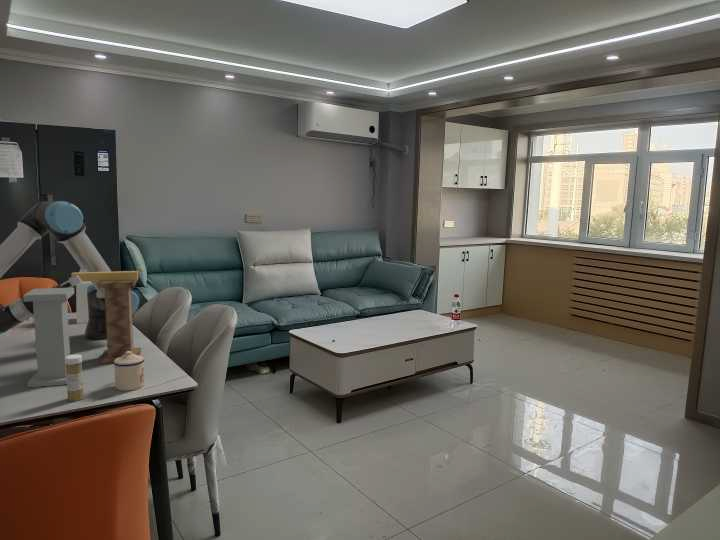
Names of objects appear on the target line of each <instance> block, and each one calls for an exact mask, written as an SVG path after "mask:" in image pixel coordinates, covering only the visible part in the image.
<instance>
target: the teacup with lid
mask: <svg viewBox="0 0 720 540" xmlns="http://www.w3.org/2000/svg"><path fill="white" fill-rule="evenodd" d="M144 362H145V359H144V357H143V356H141V355H140V356H139V355H135V354H132V352H131V351H127V352H125V355H123V356H121V357H119V358H116V359H115V360H114V363H113V366H114V381H115V383H114V384H115V389H116V390H118V391H122V392H123V391H125V392H128V391H129V392H130V391H134V390H139V389H141V388H143V387H144V386H145V368H144V367H145V366H144Z"/></svg>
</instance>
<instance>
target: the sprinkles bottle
mask: <svg viewBox="0 0 720 540" xmlns="http://www.w3.org/2000/svg"><path fill="white" fill-rule="evenodd" d="M82 363H83V356H82V354H70V355H69V356H66V357H65V364H66V378H67V380H66V382H67V385H66V389H67V398H66V399H67V400H68V401H70V402H77V401H81V400H83V399H84V398H85V395H84V376H83V374H84V373H83V364H82Z"/></svg>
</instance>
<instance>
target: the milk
mask: <svg viewBox="0 0 720 540" xmlns="http://www.w3.org/2000/svg"><path fill="white" fill-rule="evenodd" d="M82 271H83V270H82V269H81V268H80V269H79V272H82ZM89 285H93V284H92V283H91V281H86V282H81V283H79V284H77V285H75V289H76V290H75V291H76V293H75V296H76V299H75V300H76V302H75V303H76V304H75V305H76V324H77V323H80V324H87V323H86V322H88V320H89V316H88V300H87V287H88V286H89Z"/></svg>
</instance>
